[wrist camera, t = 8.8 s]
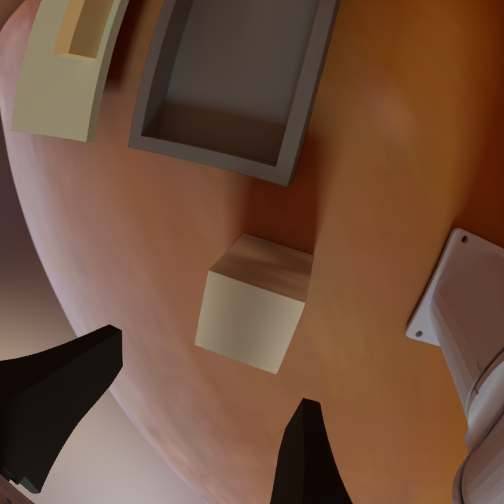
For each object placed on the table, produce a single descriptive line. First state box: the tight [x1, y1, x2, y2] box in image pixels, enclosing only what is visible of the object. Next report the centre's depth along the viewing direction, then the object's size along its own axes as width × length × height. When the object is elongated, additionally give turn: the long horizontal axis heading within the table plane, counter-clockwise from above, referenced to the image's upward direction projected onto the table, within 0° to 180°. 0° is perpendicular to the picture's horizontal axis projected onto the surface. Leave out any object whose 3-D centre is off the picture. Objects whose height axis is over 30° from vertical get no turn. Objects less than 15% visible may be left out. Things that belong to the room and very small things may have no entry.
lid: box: [11, 0, 129, 142], centre depth 13 cm, size 10×17×3 cm, turn 167°
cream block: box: [195, 233, 314, 374], centre depth 17 cm, size 4×4×6 cm
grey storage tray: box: [128, 0, 340, 187], centre depth 14 cm, size 10×17×2 cm, turn 167°
